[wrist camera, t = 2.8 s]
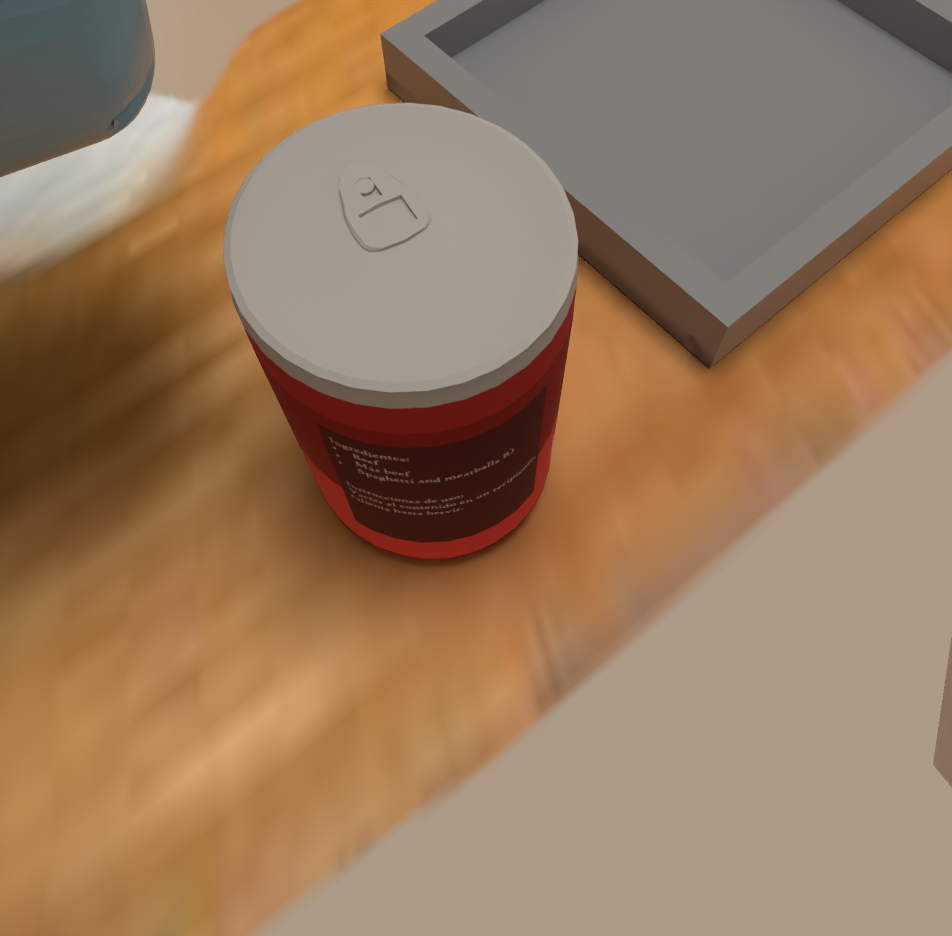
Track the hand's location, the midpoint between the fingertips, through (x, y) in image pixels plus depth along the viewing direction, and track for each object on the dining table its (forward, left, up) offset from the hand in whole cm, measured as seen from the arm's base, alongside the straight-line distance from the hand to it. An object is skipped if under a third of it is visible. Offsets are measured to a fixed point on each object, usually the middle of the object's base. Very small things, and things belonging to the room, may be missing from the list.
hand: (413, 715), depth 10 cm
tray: (-5, +28, -15) cm, 32 cm away
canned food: (-6, +9, -15) cm, 18 cm away
